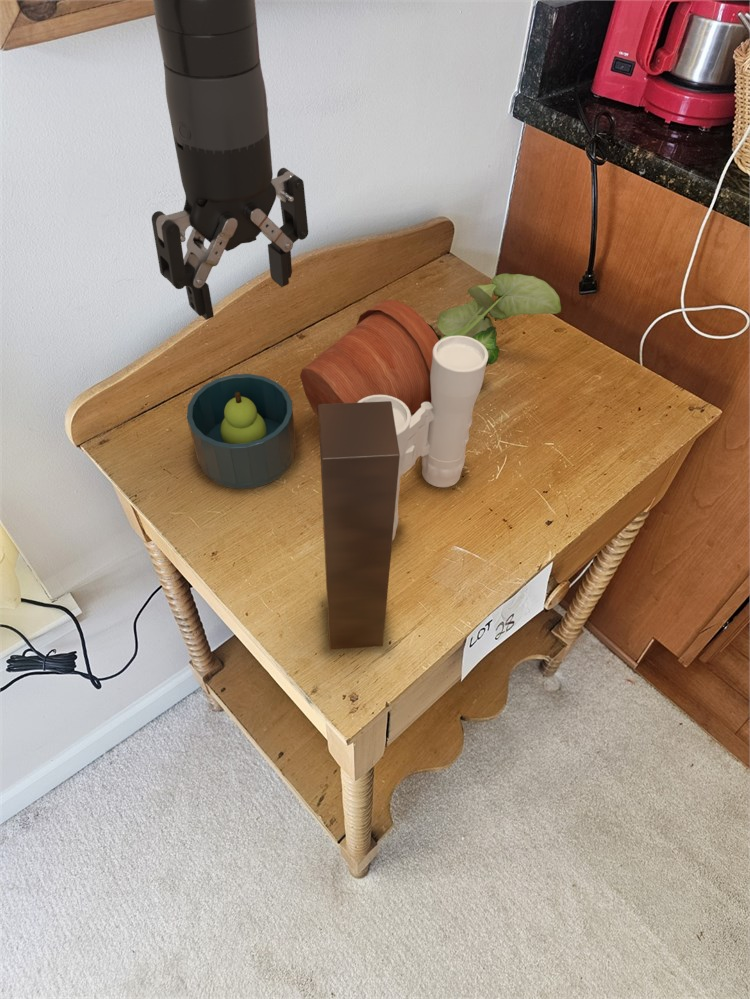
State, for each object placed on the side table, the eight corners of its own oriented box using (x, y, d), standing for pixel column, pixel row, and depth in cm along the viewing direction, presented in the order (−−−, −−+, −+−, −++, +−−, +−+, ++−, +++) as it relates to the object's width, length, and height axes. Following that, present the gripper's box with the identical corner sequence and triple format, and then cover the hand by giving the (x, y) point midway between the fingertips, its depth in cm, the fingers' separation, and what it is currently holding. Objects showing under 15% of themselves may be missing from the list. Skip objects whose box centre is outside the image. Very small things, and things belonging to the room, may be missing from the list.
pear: (223, 464, 81) (211, 410, 74) (224, 431, 84) (214, 377, 77) (268, 461, 82) (261, 408, 75) (268, 429, 85) (261, 375, 78)
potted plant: (372, 490, 83) (568, 350, 95) (360, 396, 71) (587, 250, 83) (294, 421, 90) (485, 300, 103) (272, 326, 78) (491, 202, 91)
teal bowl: (194, 491, 80) (183, 450, 74) (200, 418, 87) (190, 375, 81) (297, 486, 80) (293, 444, 75) (294, 414, 88) (291, 371, 82)
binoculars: (437, 448, 85) (455, 327, 71) (473, 471, 83) (499, 352, 69) (339, 532, 77) (337, 415, 62) (376, 561, 74) (383, 446, 60)
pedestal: (329, 650, 68) (321, 459, 46) (326, 603, 71) (318, 403, 49) (382, 646, 68) (400, 455, 46) (377, 599, 72) (391, 400, 50)
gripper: (269, 85, 60) (281, 255, 72) (114, 129, 54) (157, 306, 66) (321, 118, 56) (325, 290, 69) (162, 168, 50) (198, 347, 63)
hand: (243, 298), depth 68 cm, fingers open, 8 cm apart
